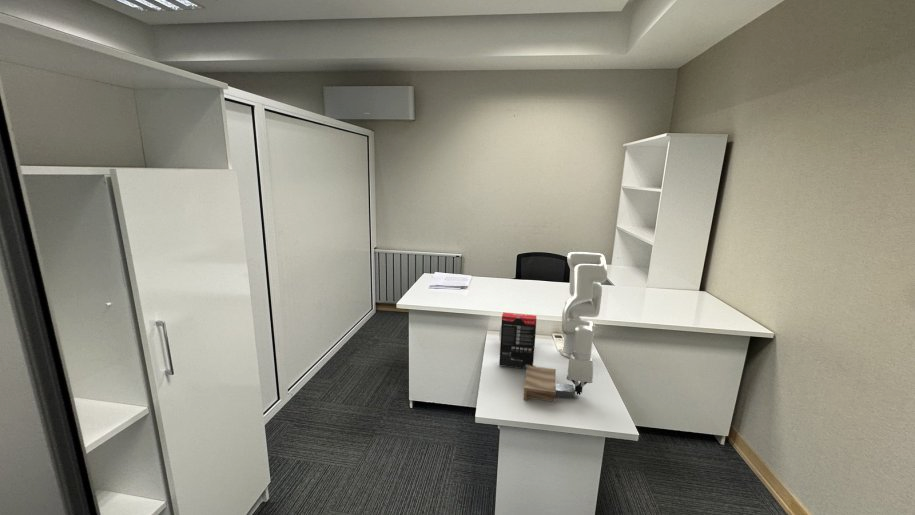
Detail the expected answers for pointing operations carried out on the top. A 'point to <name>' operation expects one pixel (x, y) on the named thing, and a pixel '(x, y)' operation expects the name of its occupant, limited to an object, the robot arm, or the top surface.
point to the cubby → (540, 383)
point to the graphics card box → (517, 340)
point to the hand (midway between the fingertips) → (578, 393)
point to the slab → (565, 391)
